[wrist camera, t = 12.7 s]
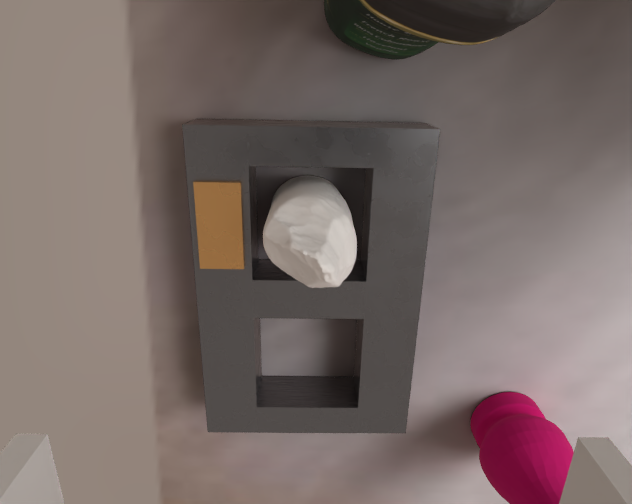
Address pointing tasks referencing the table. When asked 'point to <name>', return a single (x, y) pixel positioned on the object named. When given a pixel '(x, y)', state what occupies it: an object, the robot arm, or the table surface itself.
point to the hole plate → (295, 297)
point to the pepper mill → (521, 449)
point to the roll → (311, 232)
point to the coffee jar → (424, 22)
